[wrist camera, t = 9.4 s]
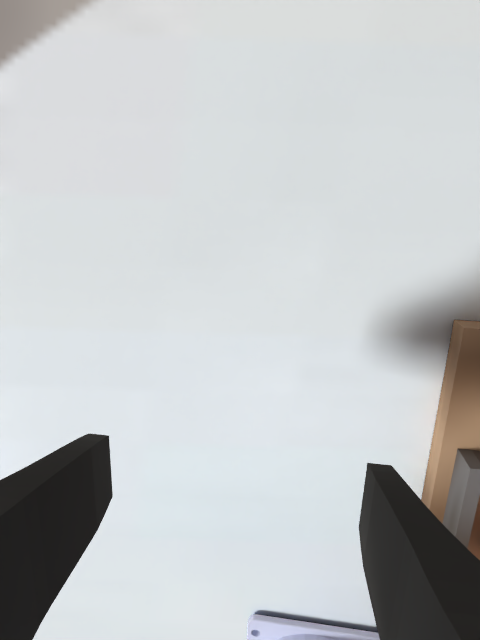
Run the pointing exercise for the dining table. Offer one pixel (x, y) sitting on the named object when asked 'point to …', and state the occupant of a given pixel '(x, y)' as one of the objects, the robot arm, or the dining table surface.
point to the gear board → (458, 441)
